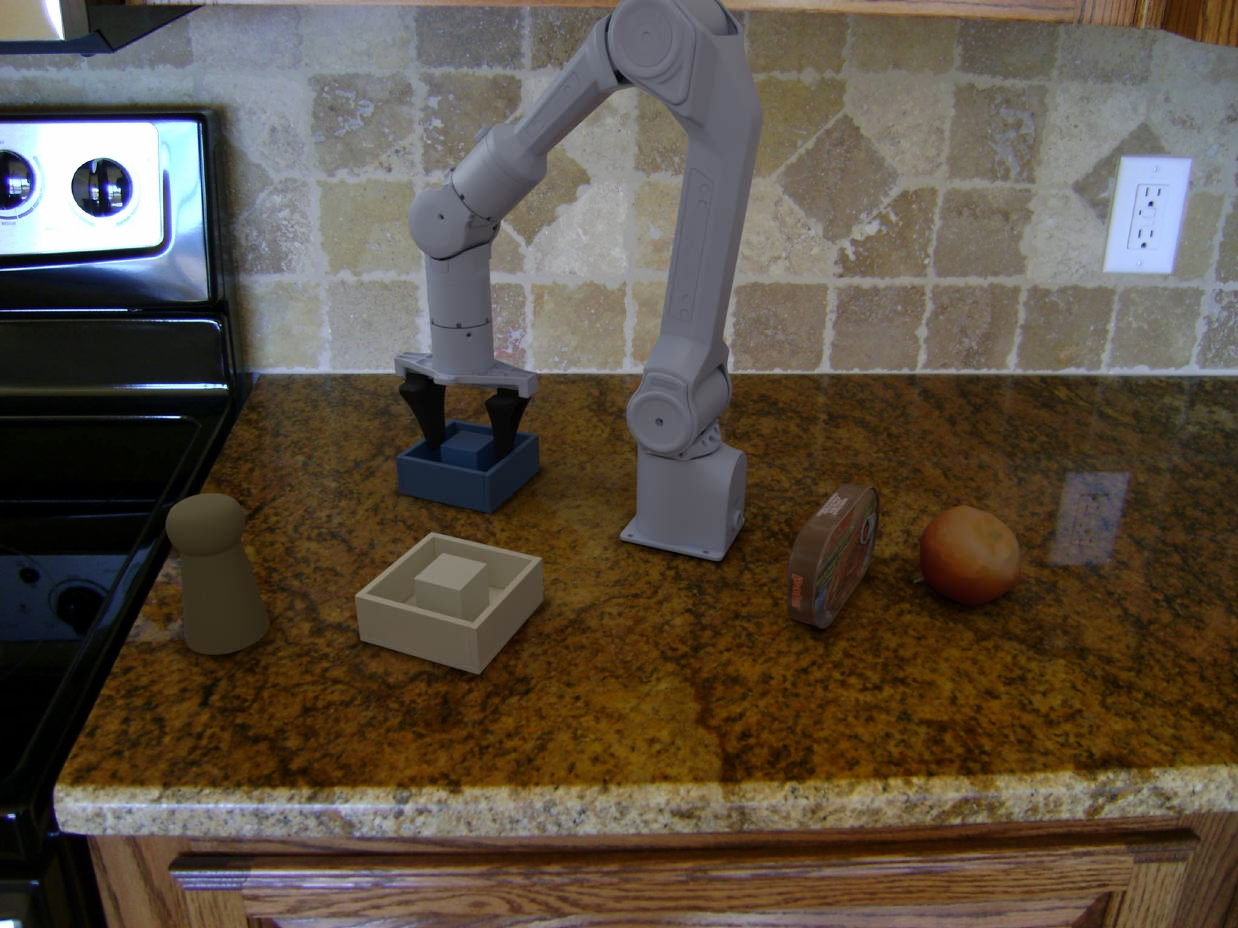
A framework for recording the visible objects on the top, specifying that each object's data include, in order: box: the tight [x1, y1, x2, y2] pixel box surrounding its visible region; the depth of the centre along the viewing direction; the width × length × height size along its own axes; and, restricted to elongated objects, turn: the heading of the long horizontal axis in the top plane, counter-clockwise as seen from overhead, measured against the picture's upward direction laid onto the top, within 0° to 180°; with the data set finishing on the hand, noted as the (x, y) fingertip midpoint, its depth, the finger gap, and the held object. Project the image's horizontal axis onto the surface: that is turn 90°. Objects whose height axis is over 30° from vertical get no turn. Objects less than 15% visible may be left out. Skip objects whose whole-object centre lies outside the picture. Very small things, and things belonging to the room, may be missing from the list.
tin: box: [786, 482, 881, 630], centre depth 74 cm, size 15×3×8 cm, turn 148°
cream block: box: [414, 553, 490, 622], centre depth 71 cm, size 4×4×4 cm
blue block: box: [441, 430, 497, 472], centre depth 92 cm, size 4×4×4 cm
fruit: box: [913, 504, 1022, 607], centre depth 76 cm, size 8×8×8 cm
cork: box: [165, 492, 271, 656], centre depth 68 cm, size 6×6×11 cm
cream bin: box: [354, 531, 545, 676], centre depth 71 cm, size 10×10×4 cm
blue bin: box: [395, 418, 541, 515], centre depth 93 cm, size 10×10×4 cm
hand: (469, 452), depth 92 cm, fingers open, 7 cm apart
